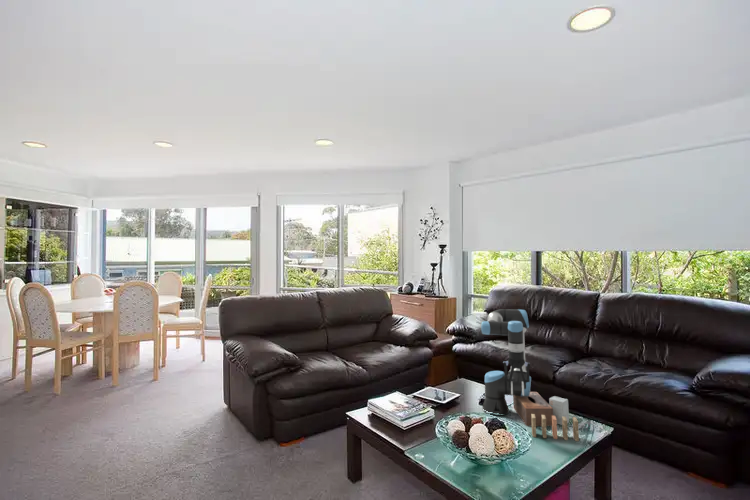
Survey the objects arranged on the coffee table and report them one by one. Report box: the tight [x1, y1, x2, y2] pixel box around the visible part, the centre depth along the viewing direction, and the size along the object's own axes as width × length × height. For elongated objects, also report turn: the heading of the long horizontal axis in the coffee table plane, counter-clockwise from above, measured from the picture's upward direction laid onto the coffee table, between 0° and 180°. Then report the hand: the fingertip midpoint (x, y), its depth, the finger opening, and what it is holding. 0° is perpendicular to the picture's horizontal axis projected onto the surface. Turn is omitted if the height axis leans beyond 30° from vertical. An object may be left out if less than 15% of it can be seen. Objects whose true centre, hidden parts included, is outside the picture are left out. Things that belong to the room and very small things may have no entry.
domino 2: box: [541, 415, 548, 439], centre depth 205 cm, size 2×5×10 cm, turn 164°
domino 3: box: [561, 416, 569, 441], centre depth 202 cm, size 2×5×10 cm, turn 163°
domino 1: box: [531, 414, 537, 438], centre depth 206 cm, size 2×5×10 cm, turn 164°
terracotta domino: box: [551, 416, 558, 440], centre depth 204 cm, size 2×5×10 cm, turn 164°
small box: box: [548, 395, 570, 426], centre depth 221 cm, size 8×6×13 cm
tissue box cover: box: [512, 391, 553, 427], centre depth 229 cm, size 26×14×10 cm, turn 176°
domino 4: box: [572, 416, 580, 442], centre depth 201 cm, size 2×5×10 cm, turn 164°
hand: (517, 394), depth 209 cm, fingers open, 5 cm apart
